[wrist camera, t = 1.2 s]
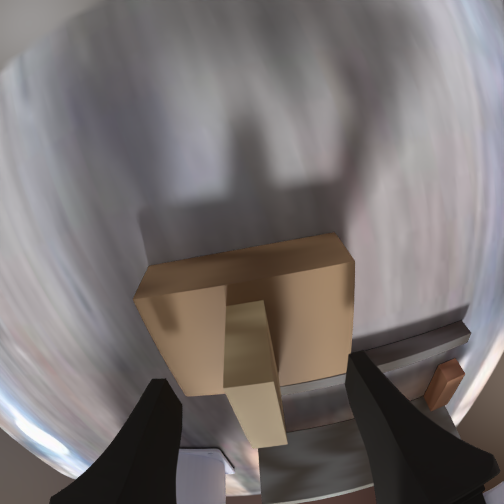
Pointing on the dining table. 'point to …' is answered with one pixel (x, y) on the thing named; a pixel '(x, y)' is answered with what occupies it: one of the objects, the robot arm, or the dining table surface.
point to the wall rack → (355, 426)
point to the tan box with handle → (253, 324)
